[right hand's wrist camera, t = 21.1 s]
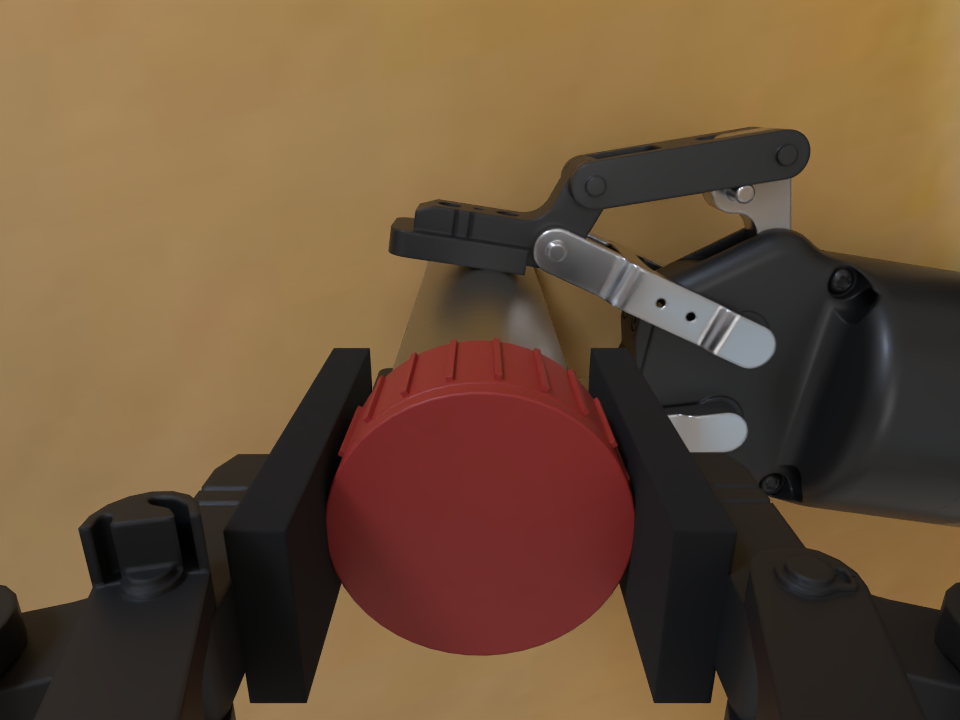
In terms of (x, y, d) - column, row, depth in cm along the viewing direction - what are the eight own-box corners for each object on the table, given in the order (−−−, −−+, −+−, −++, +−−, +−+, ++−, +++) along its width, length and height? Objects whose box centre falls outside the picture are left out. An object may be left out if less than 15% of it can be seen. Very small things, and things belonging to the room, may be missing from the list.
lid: (609, 567, 13) (634, 656, 11) (361, 574, 13) (338, 665, 11) (617, 330, 11) (649, 381, 9) (333, 341, 11) (299, 393, 9)
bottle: (555, 276, 26) (657, 505, 11) (480, 346, 27) (479, 644, 12) (480, 199, 25) (481, 336, 10) (405, 275, 26) (303, 503, 11)
